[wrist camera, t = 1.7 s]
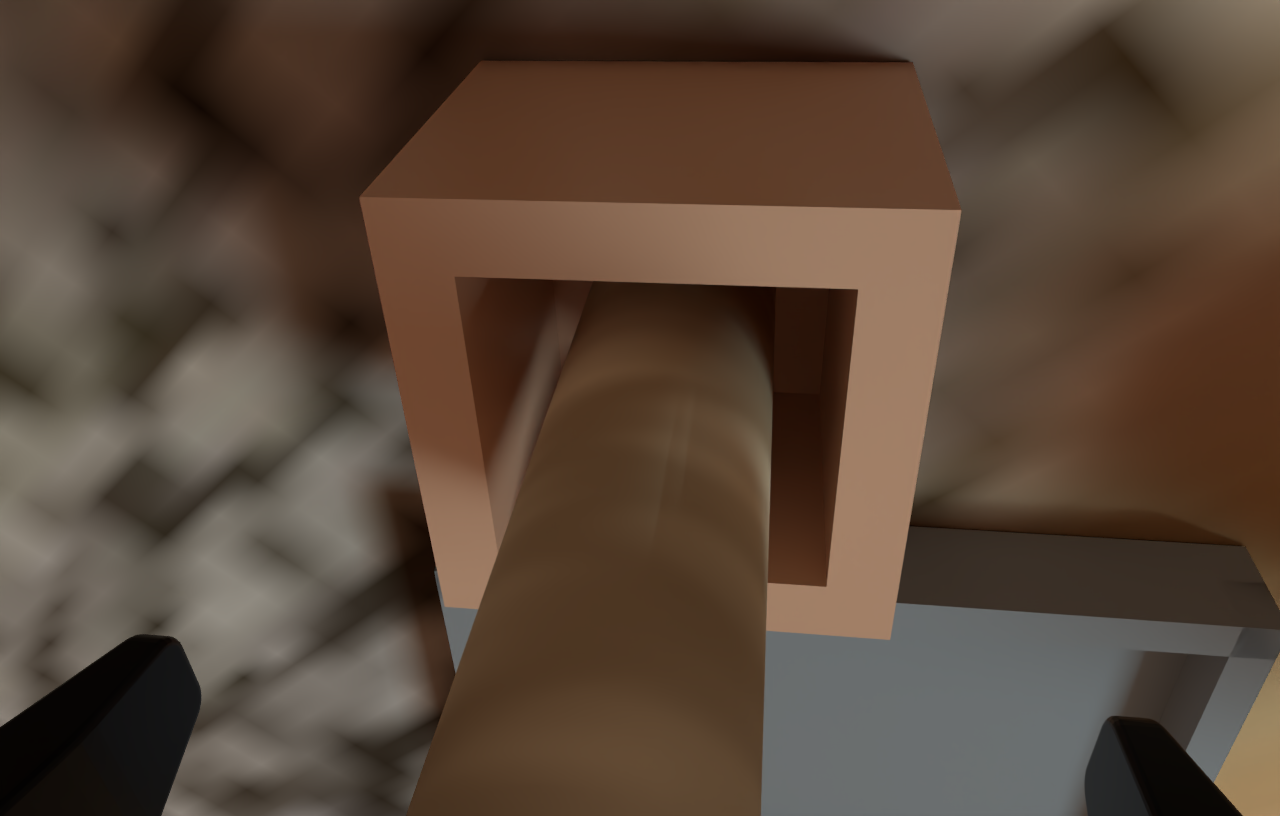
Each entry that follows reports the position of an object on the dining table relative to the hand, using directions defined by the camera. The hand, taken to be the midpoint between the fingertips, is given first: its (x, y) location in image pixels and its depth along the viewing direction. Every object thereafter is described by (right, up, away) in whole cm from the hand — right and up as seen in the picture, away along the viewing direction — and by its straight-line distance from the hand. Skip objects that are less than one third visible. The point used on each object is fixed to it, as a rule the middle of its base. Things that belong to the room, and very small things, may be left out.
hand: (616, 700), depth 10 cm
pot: (+1, +6, +8) cm, 10 cm away
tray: (+5, -4, +14) cm, 16 cm away
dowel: (+1, +5, +7) cm, 9 cm away
